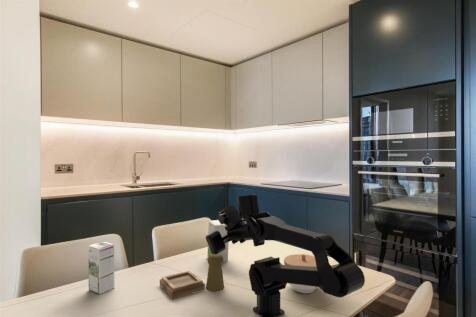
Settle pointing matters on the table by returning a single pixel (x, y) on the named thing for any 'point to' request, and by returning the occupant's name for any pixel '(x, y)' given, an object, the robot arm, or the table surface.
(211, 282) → the olive pear-shaped figure
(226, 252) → the skincare box
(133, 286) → the table surface
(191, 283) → the square wooden tray
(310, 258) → the lidded bowl
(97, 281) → the syrup box
